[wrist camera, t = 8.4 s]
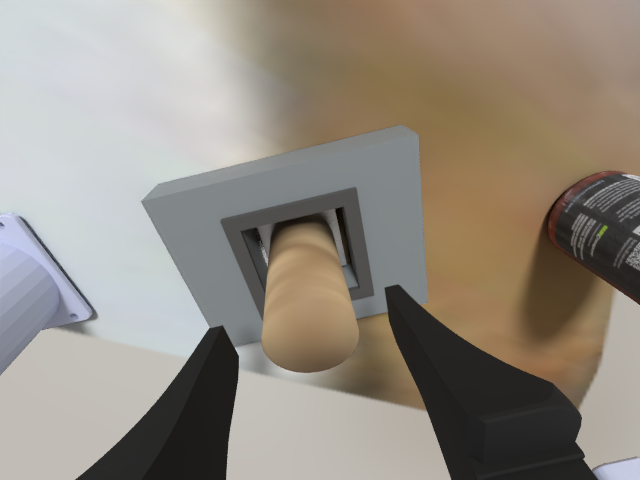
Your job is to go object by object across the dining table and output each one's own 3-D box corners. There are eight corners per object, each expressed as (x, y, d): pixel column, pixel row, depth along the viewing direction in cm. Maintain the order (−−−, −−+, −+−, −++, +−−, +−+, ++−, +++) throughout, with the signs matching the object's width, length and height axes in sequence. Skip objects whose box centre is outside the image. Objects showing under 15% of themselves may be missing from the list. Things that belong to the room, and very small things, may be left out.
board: (227, 322, 24) (221, 353, 21) (158, 184, 18) (138, 203, 16) (414, 279, 23) (429, 305, 21) (401, 124, 18) (420, 135, 15)
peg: (280, 274, 21) (277, 380, 14) (261, 222, 19) (247, 316, 12) (339, 260, 21) (366, 360, 14) (326, 206, 19) (350, 291, 12)
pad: (276, 275, 22) (276, 281, 21) (254, 213, 19) (253, 218, 19) (345, 259, 22) (346, 264, 21) (331, 195, 19) (332, 199, 19)
